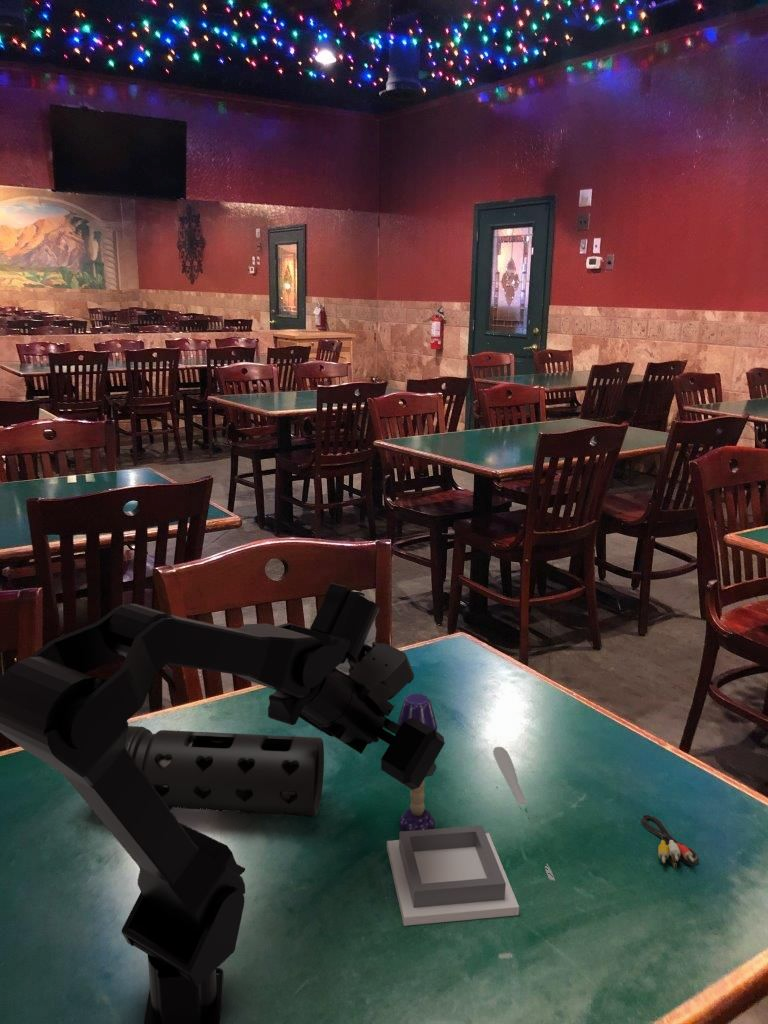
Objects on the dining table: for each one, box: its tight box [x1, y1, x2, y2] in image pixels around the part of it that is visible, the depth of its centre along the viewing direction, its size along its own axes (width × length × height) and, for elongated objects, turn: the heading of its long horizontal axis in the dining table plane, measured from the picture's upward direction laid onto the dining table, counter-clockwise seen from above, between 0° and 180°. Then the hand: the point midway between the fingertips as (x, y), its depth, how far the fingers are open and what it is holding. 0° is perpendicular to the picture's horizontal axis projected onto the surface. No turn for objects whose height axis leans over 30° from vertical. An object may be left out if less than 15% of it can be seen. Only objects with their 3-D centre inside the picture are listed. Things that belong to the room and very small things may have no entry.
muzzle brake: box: [126, 725, 325, 818], centre depth 100 cm, size 10×28×10 cm, turn 86°
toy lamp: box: [397, 693, 438, 832], centre depth 97 cm, size 5×5×17 cm
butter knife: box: [492, 746, 556, 882], centre depth 103 cm, size 1×27×3 cm
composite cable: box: [640, 814, 699, 869], centre depth 96 cm, size 10×5×2 cm, turn 179°
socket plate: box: [386, 825, 520, 927], centre depth 90 cm, size 12×12×3 cm
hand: (405, 753), depth 96 cm, fingers open, 9 cm apart
